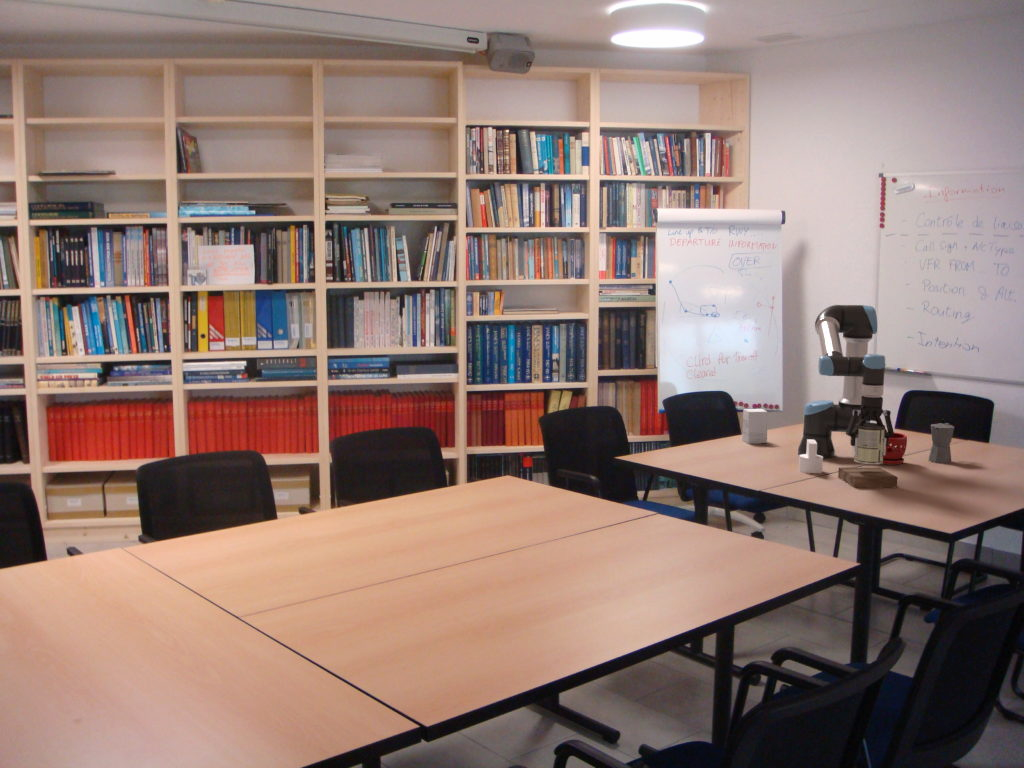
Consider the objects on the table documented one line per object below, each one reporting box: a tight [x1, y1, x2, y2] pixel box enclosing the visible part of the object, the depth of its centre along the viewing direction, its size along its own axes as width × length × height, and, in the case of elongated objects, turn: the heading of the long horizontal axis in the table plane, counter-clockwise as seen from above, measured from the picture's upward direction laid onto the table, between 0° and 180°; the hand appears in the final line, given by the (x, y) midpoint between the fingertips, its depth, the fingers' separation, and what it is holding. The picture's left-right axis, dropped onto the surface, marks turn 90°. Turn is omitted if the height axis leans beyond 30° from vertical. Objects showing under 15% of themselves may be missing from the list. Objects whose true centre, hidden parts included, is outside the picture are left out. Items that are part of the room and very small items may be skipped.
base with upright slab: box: [798, 439, 824, 474], centre depth 370 cm, size 9×9×12 cm
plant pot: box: [881, 432, 908, 466], centre depth 387 cm, size 13×13×12 cm
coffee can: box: [853, 422, 886, 465], centre depth 351 cm, size 10×10×14 cm
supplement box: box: [741, 408, 769, 445], centre depth 429 cm, size 9×9×15 cm
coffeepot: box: [928, 418, 955, 464], centre depth 391 cm, size 15×9×18 cm, turn 137°
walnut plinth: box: [837, 466, 899, 488], centre depth 353 cm, size 16×16×4 cm
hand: (868, 454), depth 351 cm, fingers closed on coffee can, 10 cm apart
